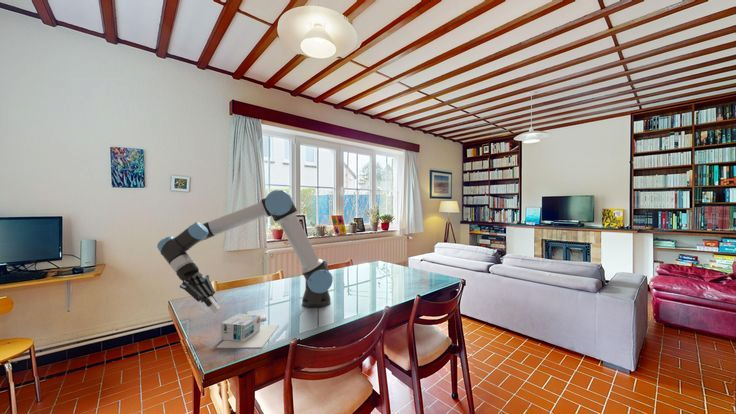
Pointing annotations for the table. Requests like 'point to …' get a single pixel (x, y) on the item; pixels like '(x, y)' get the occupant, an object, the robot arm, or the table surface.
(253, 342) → the felt mat
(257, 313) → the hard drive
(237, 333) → the light bulb box
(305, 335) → the table surface
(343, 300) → the table surface
